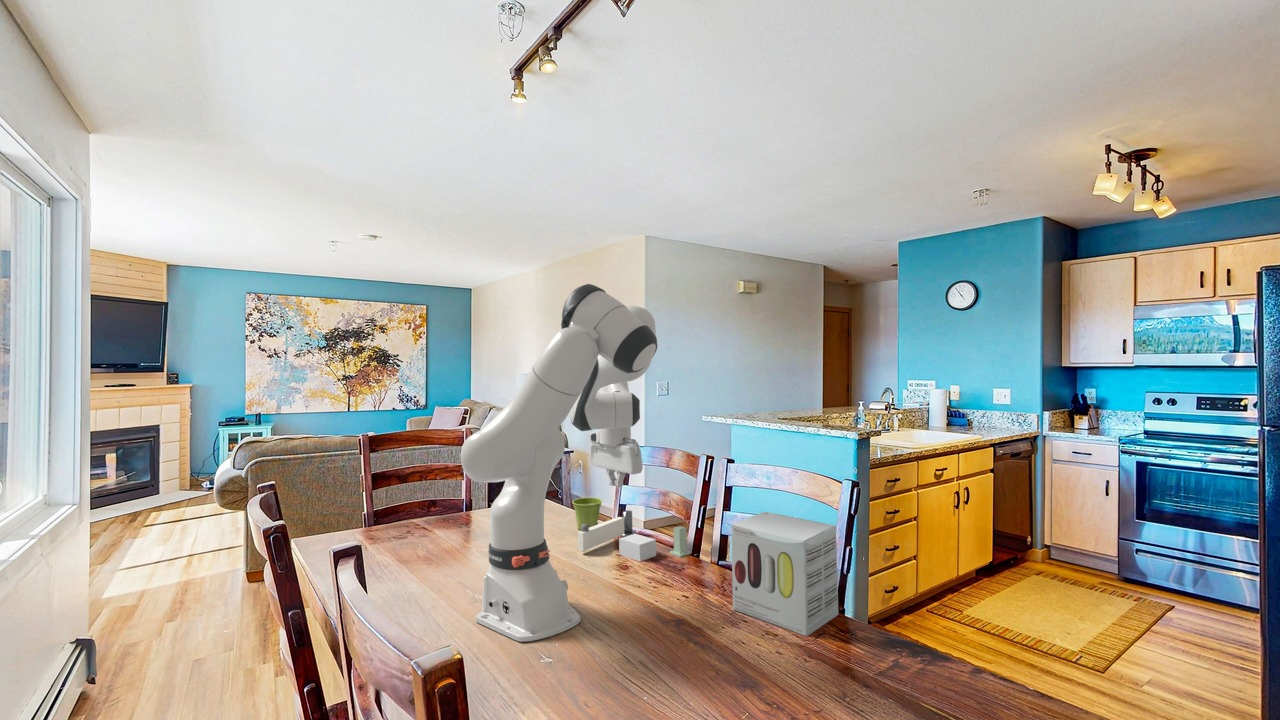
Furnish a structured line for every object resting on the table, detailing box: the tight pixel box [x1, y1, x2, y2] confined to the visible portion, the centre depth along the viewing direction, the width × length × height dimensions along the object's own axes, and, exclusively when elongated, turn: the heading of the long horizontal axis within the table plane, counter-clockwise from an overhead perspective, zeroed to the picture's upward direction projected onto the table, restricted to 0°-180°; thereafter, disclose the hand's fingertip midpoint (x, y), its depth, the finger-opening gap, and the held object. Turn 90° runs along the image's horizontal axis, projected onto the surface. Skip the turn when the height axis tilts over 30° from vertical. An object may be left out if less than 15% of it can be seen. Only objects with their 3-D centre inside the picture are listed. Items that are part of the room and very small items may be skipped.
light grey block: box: [618, 533, 657, 562], centre depth 156 cm, size 8×6×4 cm
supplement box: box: [731, 511, 839, 637], centre depth 118 cm, size 17×13×18 cm
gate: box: [576, 516, 624, 552], centre depth 164 cm, size 18×2×6 cm, turn 144°
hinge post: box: [620, 509, 636, 538], centre depth 174 cm, size 4×4×7 cm
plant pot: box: [571, 497, 603, 531], centre depth 182 cm, size 9×9×9 cm
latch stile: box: [669, 525, 692, 558], centre depth 157 cm, size 6×4×7 cm
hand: (616, 486), depth 163 cm, fingers closed
